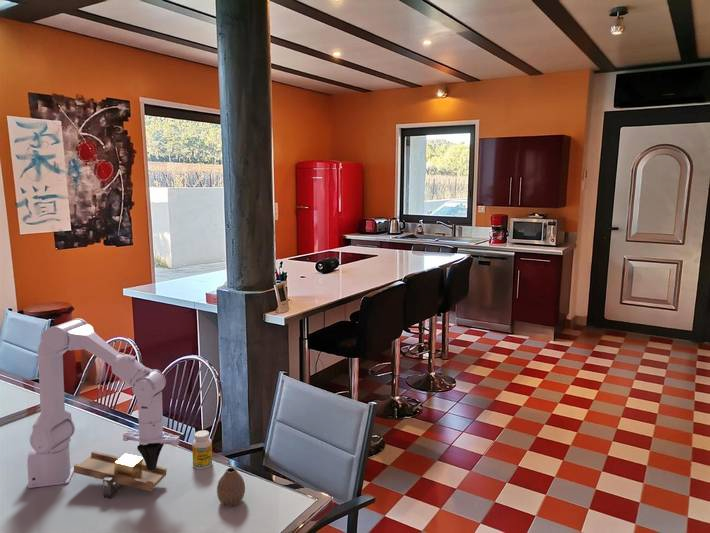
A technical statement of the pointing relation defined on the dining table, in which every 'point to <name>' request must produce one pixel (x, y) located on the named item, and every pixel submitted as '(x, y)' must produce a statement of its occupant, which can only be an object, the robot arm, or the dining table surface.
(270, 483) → the dining table surface
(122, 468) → the block
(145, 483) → the beam
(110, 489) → the stand
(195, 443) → the supplement bottle
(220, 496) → the vase
